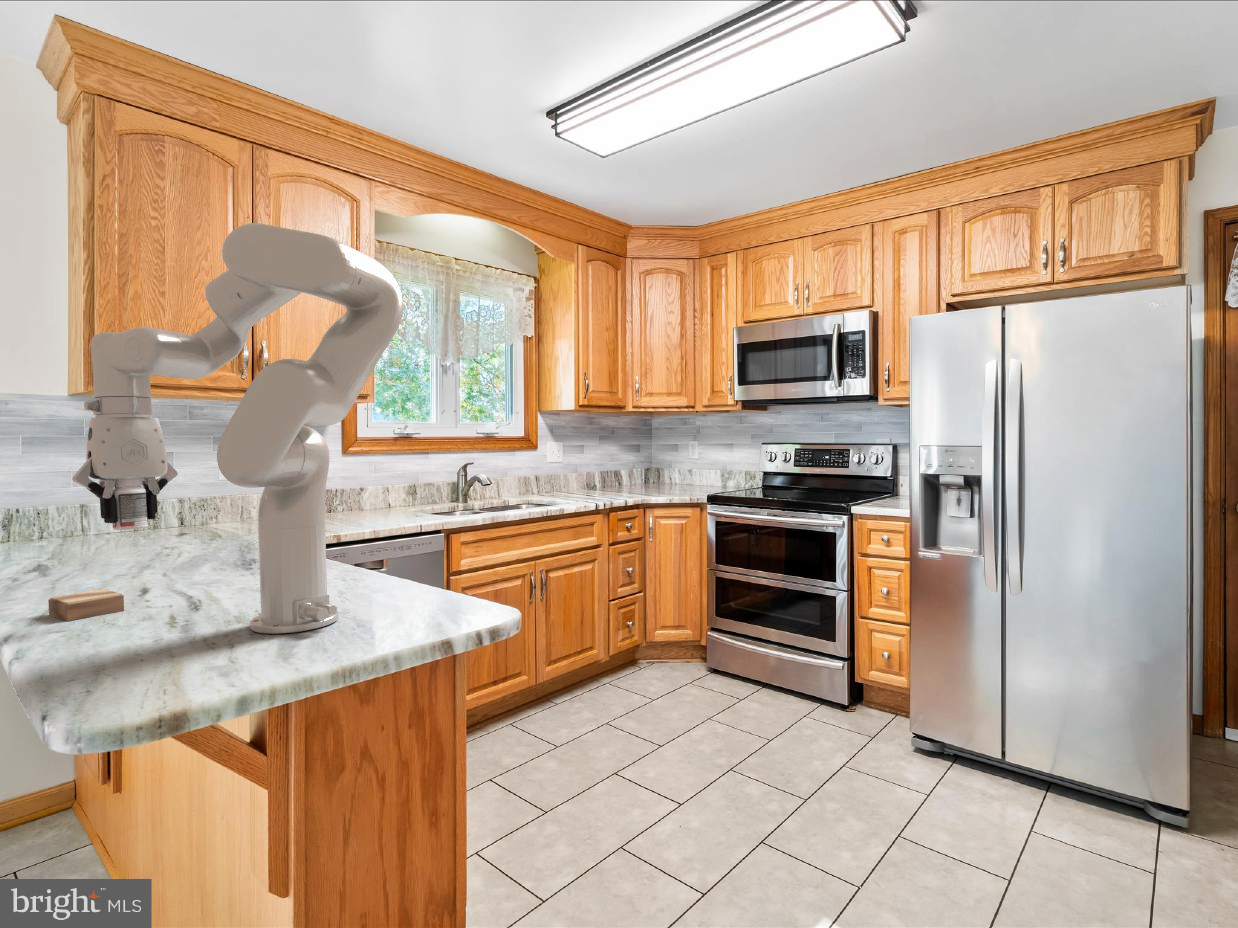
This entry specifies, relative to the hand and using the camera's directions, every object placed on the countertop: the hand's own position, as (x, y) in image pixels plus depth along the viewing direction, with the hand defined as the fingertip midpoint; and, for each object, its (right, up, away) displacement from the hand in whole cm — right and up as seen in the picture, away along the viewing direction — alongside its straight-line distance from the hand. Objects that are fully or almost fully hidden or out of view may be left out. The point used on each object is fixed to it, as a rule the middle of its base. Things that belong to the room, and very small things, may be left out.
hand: (130, 519), depth 111 cm
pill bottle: (0, -2, 0) cm, 2 cm away
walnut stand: (-11, -16, +5) cm, 21 cm away
